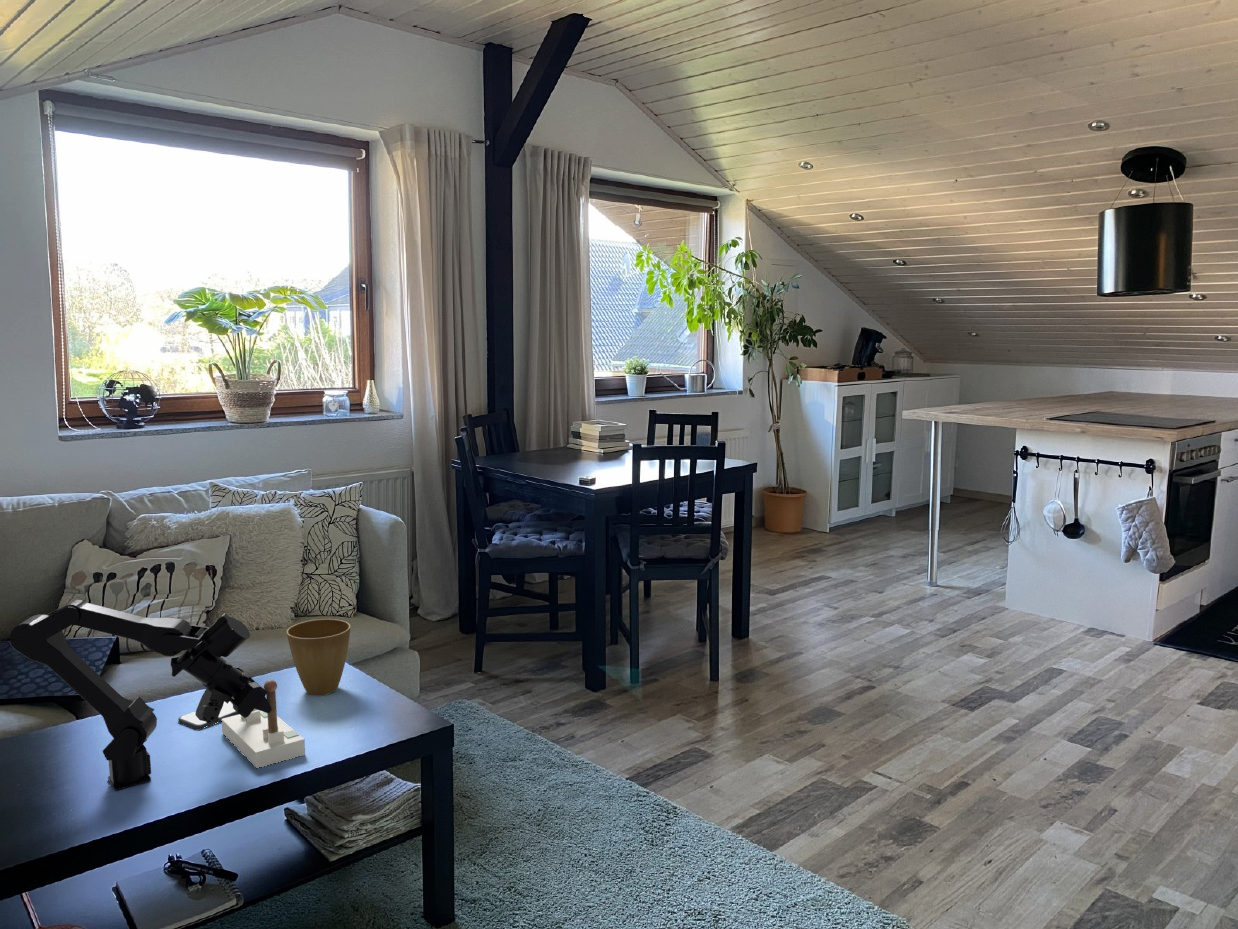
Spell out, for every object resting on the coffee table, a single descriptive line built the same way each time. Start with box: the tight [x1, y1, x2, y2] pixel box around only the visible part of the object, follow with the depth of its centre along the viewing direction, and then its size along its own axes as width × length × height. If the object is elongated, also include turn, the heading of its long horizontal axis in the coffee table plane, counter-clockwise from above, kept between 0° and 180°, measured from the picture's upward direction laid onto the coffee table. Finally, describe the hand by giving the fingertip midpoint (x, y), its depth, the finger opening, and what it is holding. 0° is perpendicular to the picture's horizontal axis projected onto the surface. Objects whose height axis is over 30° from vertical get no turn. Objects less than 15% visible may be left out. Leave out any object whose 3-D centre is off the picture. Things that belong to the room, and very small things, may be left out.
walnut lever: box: [263, 679, 278, 733], centre depth 196 cm, size 3×3×12 cm
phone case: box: [177, 701, 239, 730], centre depth 219 cm, size 9×2×16 cm
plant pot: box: [286, 618, 351, 697], centre depth 232 cm, size 15×15×16 cm
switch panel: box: [221, 709, 306, 769], centre depth 202 cm, size 10×22×6 cm, turn 39°
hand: (269, 711), depth 195 cm, fingers closed
